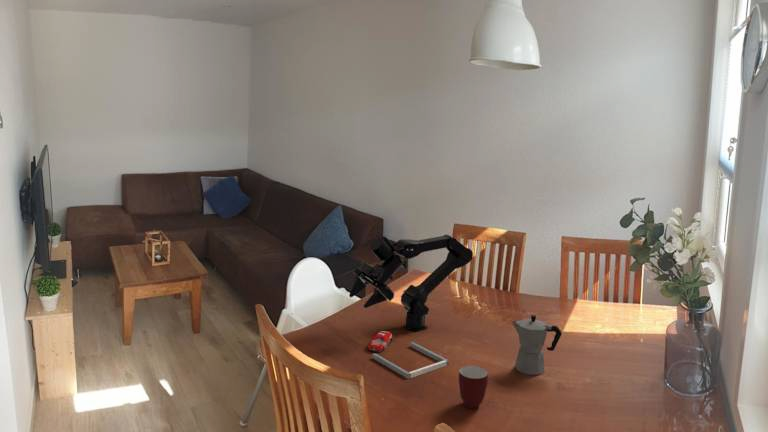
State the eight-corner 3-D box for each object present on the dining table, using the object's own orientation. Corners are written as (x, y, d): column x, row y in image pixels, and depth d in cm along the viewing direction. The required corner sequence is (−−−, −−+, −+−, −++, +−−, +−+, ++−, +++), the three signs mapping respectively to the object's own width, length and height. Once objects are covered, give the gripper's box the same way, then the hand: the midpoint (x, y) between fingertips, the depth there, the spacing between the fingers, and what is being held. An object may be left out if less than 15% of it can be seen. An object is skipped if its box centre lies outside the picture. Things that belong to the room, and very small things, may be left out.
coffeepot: (505, 371, 199) (509, 317, 195) (511, 359, 207) (515, 307, 204) (556, 380, 193) (560, 325, 190) (560, 368, 202) (564, 314, 198)
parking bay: (412, 346, 216) (412, 341, 216) (448, 364, 203) (449, 360, 202) (372, 358, 206) (372, 354, 206) (408, 378, 192) (408, 374, 192)
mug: (463, 392, 185) (465, 360, 183) (490, 397, 182) (492, 365, 180) (454, 408, 175) (455, 375, 173) (482, 414, 172) (484, 380, 170)
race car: (381, 355, 210) (381, 343, 209) (365, 352, 212) (366, 341, 211) (394, 340, 222) (394, 329, 221) (380, 337, 224) (380, 327, 223)
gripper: (361, 246, 224) (330, 278, 220) (391, 264, 210) (359, 299, 206) (376, 264, 231) (347, 296, 227) (407, 284, 216) (376, 318, 213)
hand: (357, 301), depth 218 cm, fingers open, 9 cm apart
